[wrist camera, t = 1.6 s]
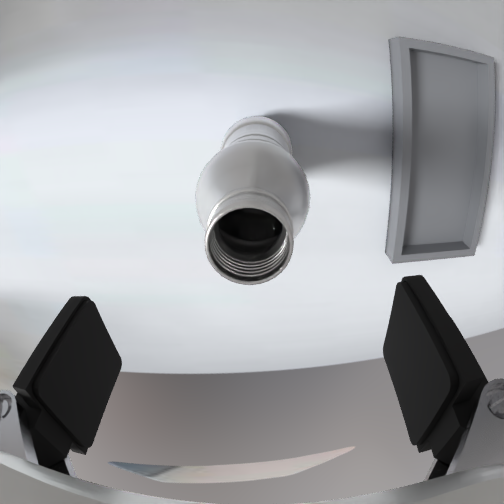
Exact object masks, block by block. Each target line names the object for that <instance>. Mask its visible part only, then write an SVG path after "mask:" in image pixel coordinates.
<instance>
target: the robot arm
mask: <svg viewBox="0 0 504 504" xmlns="http://www.w3.org/2000/svg"><path fill="white" fill-rule="evenodd" d="M383 354H384V359H385V361H386V364H387V367H388V370H389V373H390V376H391V379H392V382H393V385H394V388H395V391H396V394H397V397H398V400H399V404H400V407H401V410H402V413H403V417H404V420H405V423H406V427H407V430H408V434H409V437H410V441H411V443H412V444H413V445H417V448H418V451H419V453H420V452H424V451H427V450H430V449H432V452H433V456H434V458H435V459H434V461H433V463H432V465H431V467H430V469H429V472H428V473H427V475H426V477H425V479H424V481H423V482H420V483H416V484H412V485H408V486H405V487H400V488H396V489H392V490H387V491H383V492H377V493H372V494H367V495H361V496H356V497H350V498H343V499H336V500H329V501H319V502H309V503H296V504H504V379H494V380H492V381H490V382H488V381H487V379H486V377H485V375H484V373H483V371H482V370H481V368H480V366H479V364H478V362H477V360H476V359H475V357H474V355H473V353H472V351H471V350H470V348H469V346H468V344H467V343H466V341H465V339H464V338H463V336H462V334H461V333H460V331H459V329H458V328H457V326H456V324H455V323H454V321H453V320H452V318H451V317H450V316H449V315H448V313H447V311H446V310H445V308H444V307H443V305H442V304H441V302H440V301H439V299H438V298H437V296H436V294H435V293H434V291H433V290H432V289H431V287H430V286H429V284H428V283H427V281H426V280H425V278H424V277H423V276H422V275H416V276H407V277H403V279H402V281H401V282H399V283H397V285H396V290H395V296H394V301H393V306H392V311H391V315H390V320H389V325H388V329H387V333H386V338H385V342H384V346H383ZM121 366H122V361H121V357H120V355H119V353H118V351H117V349H116V347H115V345H114V343H113V341H112V339H111V337H110V335H109V333H108V331H107V329H106V327H105V325H104V323H103V321H102V318H101V316H100V314H99V312H98V310H97V307H96V305H95V303H94V302H93V301H91V300H90V298H89V297H86V296H73V297H71V298H70V299H69V300H68V302H67V303H66V304H65V306H64V307H63V309H62V310H61V311H60V313H59V314H58V316H57V317H56V319H55V320H54V321H53V323H52V324H51V326H50V327H49V329H48V330H47V332H46V333H45V335H44V336H43V338H42V339H41V341H40V342H39V344H38V345H37V347H36V348H35V350H34V352H33V353H32V355H31V356H30V358H29V360H28V361H27V363H26V364H25V366H24V368H23V369H22V371H21V373H20V374H19V376H18V378H17V379H16V381H15V383H14V385H13V388H14V389H15V390H16V391H17V395H16V396H15V395H14V394H13V393H12V392H11V391H9V390H0V504H214V503H201V502H191V501H182V500H174V499H167V498H161V497H154V496H148V495H143V494H138V493H133V492H128V491H123V490H119V489H115V488H111V487H107V486H103V485H99V484H95V483H92V482H88V481H85V480H82V479H78V478H77V475H76V473H75V470H74V468H73V465H72V463H71V460H70V458H69V455H68V453H69V450H70V449H71V450H72V451H73V452H77V453H81V454H84V455H86V452H87V449H88V448H89V447H91V446H92V444H93V441H94V438H95V436H96V432H97V430H98V427H99V424H100V422H101V419H102V416H103V413H104V411H105V408H106V405H107V403H108V400H109V397H110V395H111V392H112V390H113V387H114V385H115V382H116V380H117V377H118V374H119V372H120V370H121Z"/></svg>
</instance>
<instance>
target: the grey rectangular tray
mask: <svg viewBox="0 0 504 504" xmlns="http://www.w3.org/2000/svg"><path fill="white" fill-rule="evenodd" d="M389 49H390V62H391V78H392V103H393V151H392V178H391V195H390V208H389V220H388V230H387V239H386V248H385V253H386V254H387V256H388V258H389V259H390V261H391V262H392V264H393V263H404V262H415V261H425V260H436V259H446V258H456V257H465V256H474V255H475V251H476V247H477V242H478V238H479V234H480V229H481V225H482V220H483V215H484V209H485V204H486V198H487V192H488V185H489V178H490V170H491V162H492V152H493V139H494V122H495V72H494V57H491V56H487V55H484V54H480V53H477V52H473V51H469V50H465V49H461V48H457V47H453V46H449V45H444V44H439V43H434V42H429V41H423V40H417V39H411V38H405V37H396V38H392V39H389Z"/></svg>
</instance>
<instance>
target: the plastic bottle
mask: <svg viewBox="0 0 504 504" xmlns="http://www.w3.org/2000/svg"><path fill="white" fill-rule="evenodd" d="M195 199H196V209H197V213H198V217H199V220H200V223H201V225H202V227H203V229H204V231H205V232H206V235H205V251H206V254H207V258H208V260H209V262H210V264H211V265H212V267H213V268H214V269H215V270H216V271H217V272H218V273H219V274H220V275H221V276H223V277H224V278H226V279H228V280H230V281H232V282H235V283H239V284H244V285H254V284H261V283H264V282H267V281H269V280H271V279H273V278H275V277H276V276H277V275H279V274H280V273H281V272H282V271H283V270H284V269H285V267H286V266H287V264H288V263H289V261H290V258H291V255H292V252H293V244H294V241H293V240H294V238H295V237H296V236H297V235H298V234H299V232H300V230H301V228H302V226H303V225H304V222H305V220H306V217H307V214H308V211H309V206H310V190H309V184H308V181H307V178H306V175H305V174H304V172H303V170H302V168H301V167H300V165H299V164H298V162H297V161H296V160H295V159H294V158H293V157H292V144H291V140H290V138H289V135H288V134H287V132H286V130H285V129H284V128H283V127H282V126H281V125H280V124H279V123H277V122H276V121H274V120H272V119H270V118H267V117H262V116H251V117H246V118H244V119H241V120H239V121H238V122H236V123H235V124H233V125H232V126H231V127H230V128H229V130H228V131H227V133H226V134H225V136H224V138H223V141H222V145H221V151H219V152H218V153H217V154H216V155H215V156H214V157H213V158H212V159H211V160H210V161H209V162H208V163H207V164H206V166H205V168H204V169H203V171H202V172H201V174H200V177H199V180H198V182H197V187H196V194H195Z"/></svg>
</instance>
